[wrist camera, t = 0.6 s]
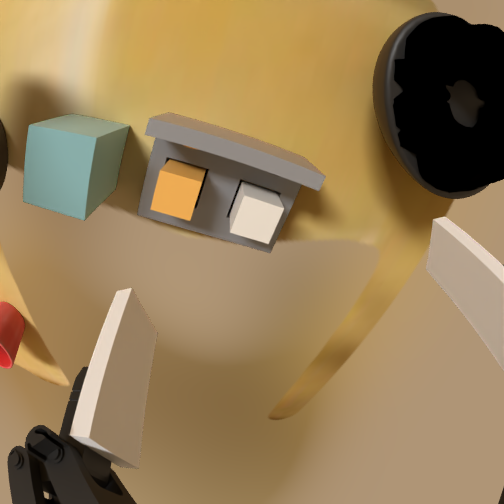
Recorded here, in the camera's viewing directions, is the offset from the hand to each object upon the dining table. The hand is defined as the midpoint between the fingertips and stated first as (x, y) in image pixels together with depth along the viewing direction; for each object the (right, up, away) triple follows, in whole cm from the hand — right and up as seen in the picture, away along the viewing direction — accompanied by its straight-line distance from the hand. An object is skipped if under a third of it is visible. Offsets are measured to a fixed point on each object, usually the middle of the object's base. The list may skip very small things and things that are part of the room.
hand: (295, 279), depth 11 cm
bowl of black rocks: (+18, +20, +16) cm, 32 cm away
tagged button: (-9, +9, +18) cm, 22 cm away
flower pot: (-50, -12, +29) cm, 59 cm away
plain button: (-2, +6, +20) cm, 21 cm away
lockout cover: (-20, +13, +17) cm, 30 cm away
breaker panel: (-5, +9, +21) cm, 23 cm away
